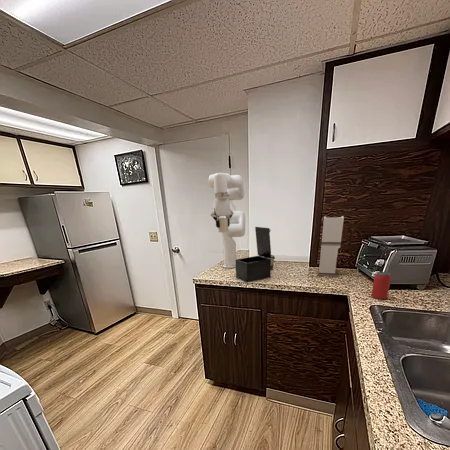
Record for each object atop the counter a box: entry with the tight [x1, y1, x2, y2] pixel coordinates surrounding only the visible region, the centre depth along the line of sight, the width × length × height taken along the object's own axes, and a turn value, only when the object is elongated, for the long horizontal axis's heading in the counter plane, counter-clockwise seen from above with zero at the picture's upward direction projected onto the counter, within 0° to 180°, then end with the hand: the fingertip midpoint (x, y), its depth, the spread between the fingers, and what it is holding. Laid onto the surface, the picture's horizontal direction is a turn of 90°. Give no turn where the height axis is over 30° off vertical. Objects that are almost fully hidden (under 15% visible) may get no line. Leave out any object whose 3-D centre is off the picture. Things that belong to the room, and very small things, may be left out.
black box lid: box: [254, 226, 272, 258], centre depth 157 cm, size 19×14×5 cm
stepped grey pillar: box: [318, 215, 345, 278], centre depth 153 cm, size 11×11×35 cm
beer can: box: [371, 271, 392, 300], centre depth 118 cm, size 7×7×12 cm
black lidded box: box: [235, 255, 272, 283], centre depth 159 cm, size 18×14×12 cm
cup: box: [217, 217, 228, 233], centre depth 154 cm, size 6×6×8 cm
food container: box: [261, 254, 276, 271], centre depth 176 cm, size 12×6×10 cm, turn 84°
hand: (223, 226), depth 155 cm, fingers closed on cup, 6 cm apart
